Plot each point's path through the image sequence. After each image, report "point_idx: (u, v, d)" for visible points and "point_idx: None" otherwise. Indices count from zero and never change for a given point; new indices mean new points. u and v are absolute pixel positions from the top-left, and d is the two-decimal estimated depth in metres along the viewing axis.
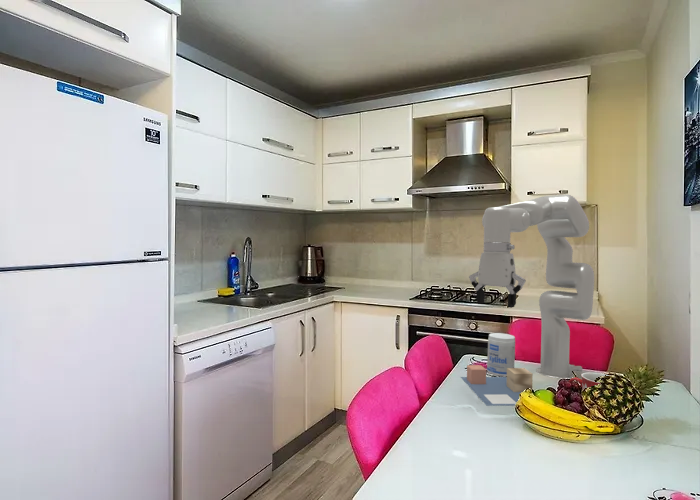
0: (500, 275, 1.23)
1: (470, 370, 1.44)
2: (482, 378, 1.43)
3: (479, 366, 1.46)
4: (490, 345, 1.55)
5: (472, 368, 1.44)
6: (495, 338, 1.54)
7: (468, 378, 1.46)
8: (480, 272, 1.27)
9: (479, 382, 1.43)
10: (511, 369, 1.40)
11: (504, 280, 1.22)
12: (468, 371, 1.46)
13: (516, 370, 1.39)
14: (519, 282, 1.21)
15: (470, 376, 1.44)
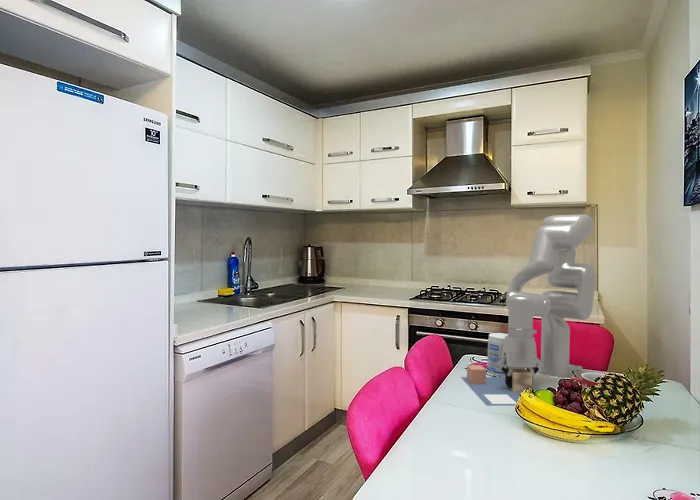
0: (530, 358, 1.37)
1: (470, 370, 1.44)
2: (482, 378, 1.43)
3: (479, 366, 1.46)
4: (490, 345, 1.55)
5: (472, 368, 1.44)
6: (495, 338, 1.54)
7: (468, 378, 1.46)
8: (510, 356, 1.36)
9: (479, 382, 1.43)
10: None
11: (533, 362, 1.37)
12: (468, 371, 1.46)
13: (516, 370, 1.39)
14: (539, 365, 1.38)
15: (470, 376, 1.44)
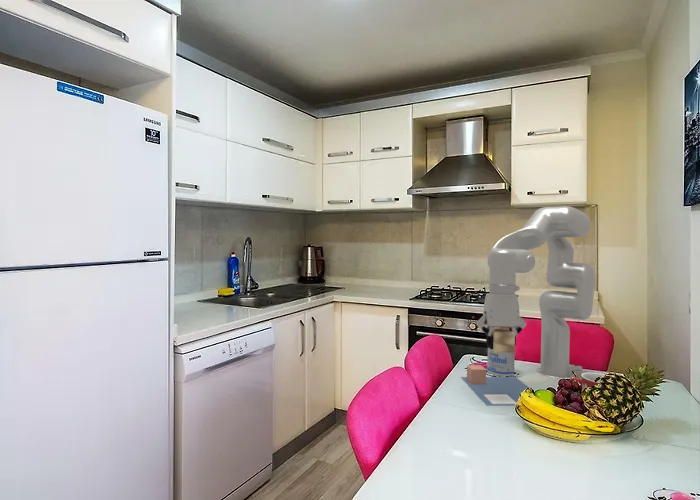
0: (512, 316, 1.27)
1: (470, 370, 1.44)
2: (482, 378, 1.43)
3: (479, 366, 1.46)
4: None
5: (472, 368, 1.44)
6: None
7: (468, 378, 1.46)
8: (491, 314, 1.27)
9: (479, 382, 1.43)
10: None
11: (515, 321, 1.27)
12: (468, 371, 1.46)
13: (498, 330, 1.29)
14: (522, 325, 1.29)
15: (470, 376, 1.44)
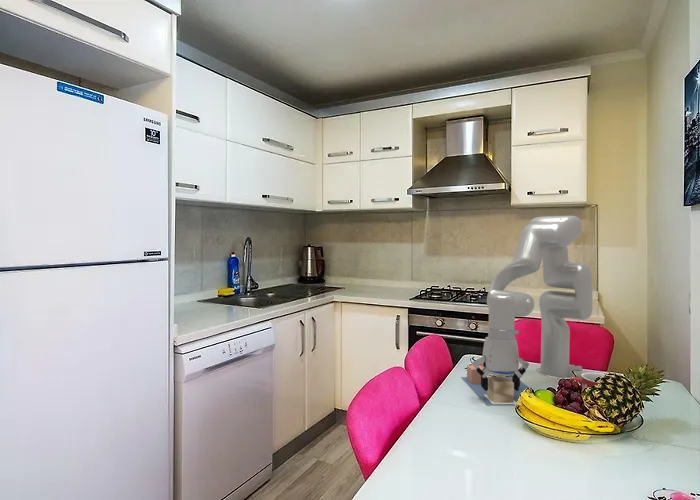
0: (511, 361, 1.27)
1: (470, 370, 1.44)
2: None
3: (479, 366, 1.46)
4: None
5: (472, 368, 1.44)
6: None
7: (468, 378, 1.46)
8: (490, 359, 1.27)
9: (479, 382, 1.43)
10: (491, 378, 1.31)
11: (515, 365, 1.27)
12: (468, 371, 1.46)
13: (497, 379, 1.30)
14: (524, 365, 1.29)
15: (470, 376, 1.44)
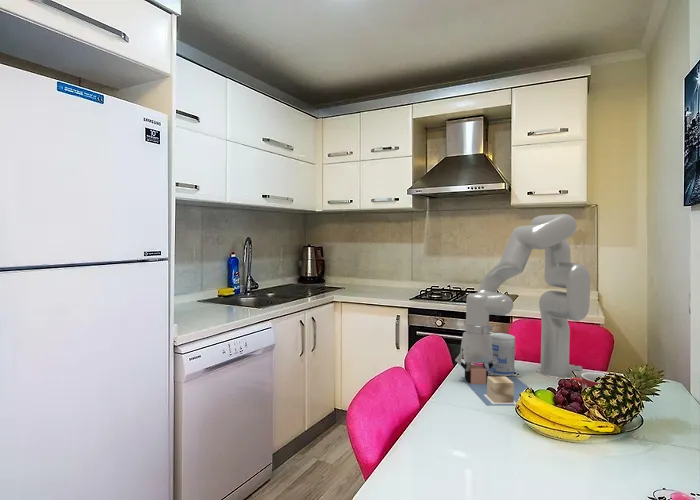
0: (486, 353, 1.43)
1: (470, 370, 1.44)
2: (482, 378, 1.43)
3: (479, 366, 1.46)
4: None
5: (472, 368, 1.44)
6: (495, 338, 1.54)
7: None
8: (467, 352, 1.43)
9: (479, 382, 1.43)
10: (491, 378, 1.31)
11: (489, 357, 1.43)
12: None
13: (497, 379, 1.30)
14: (493, 361, 1.45)
15: None
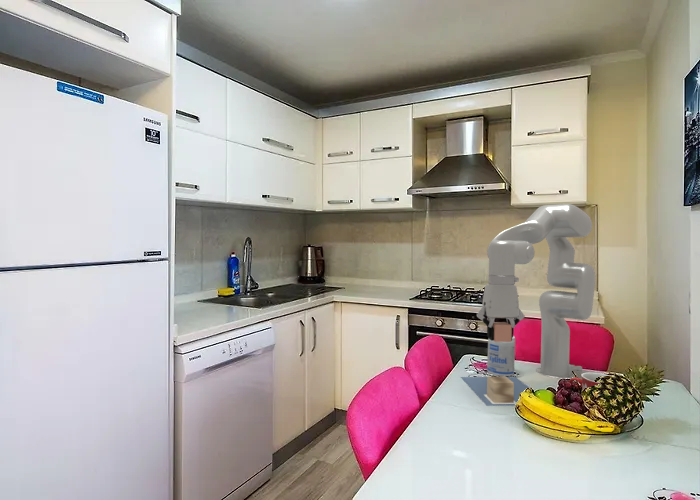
0: (511, 307, 1.27)
1: (494, 326, 1.28)
2: (507, 334, 1.27)
3: (503, 323, 1.30)
4: (490, 345, 1.55)
5: (496, 324, 1.28)
6: None
7: None
8: (490, 305, 1.27)
9: (504, 339, 1.27)
10: (491, 378, 1.31)
11: (515, 312, 1.28)
12: None
13: (497, 379, 1.30)
14: (520, 316, 1.29)
15: None
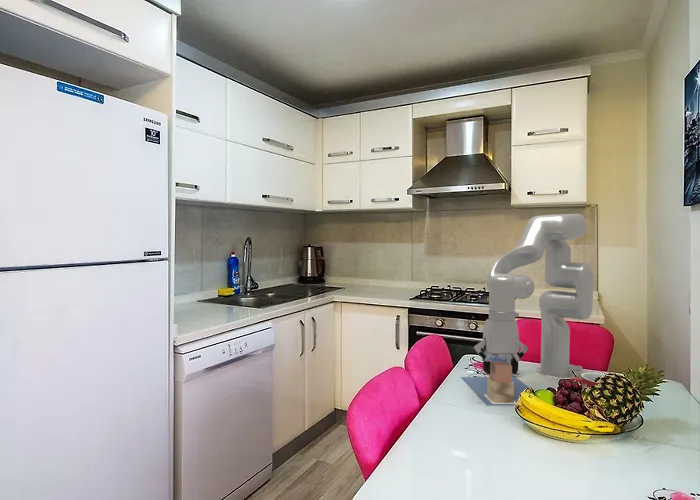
0: (512, 343, 1.27)
1: (494, 367, 1.28)
2: (507, 375, 1.27)
3: (503, 362, 1.30)
4: None
5: (496, 364, 1.28)
6: None
7: (492, 375, 1.30)
8: (491, 341, 1.27)
9: (504, 380, 1.27)
10: None
11: (515, 348, 1.27)
12: (491, 368, 1.30)
13: None
14: (523, 349, 1.29)
15: (494, 374, 1.28)
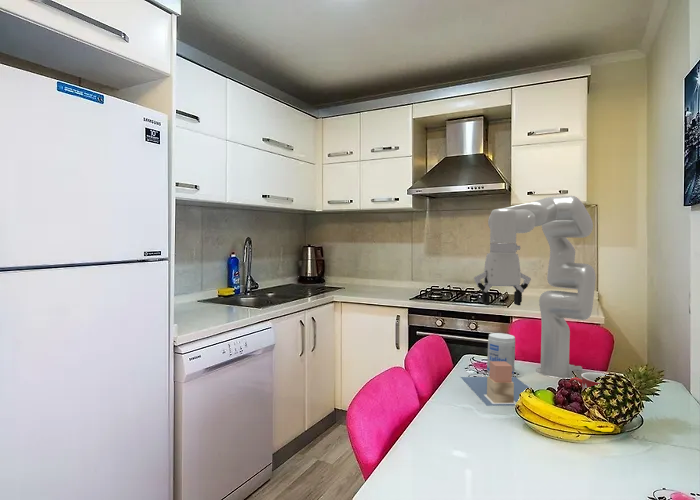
0: (513, 275, 1.27)
1: (494, 367, 1.28)
2: (507, 375, 1.27)
3: (503, 362, 1.30)
4: (490, 345, 1.55)
5: (496, 364, 1.28)
6: (495, 338, 1.54)
7: (492, 375, 1.30)
8: (492, 273, 1.26)
9: (504, 380, 1.27)
10: None
11: (516, 279, 1.27)
12: (491, 368, 1.30)
13: None
14: (526, 280, 1.29)
15: (494, 374, 1.28)
